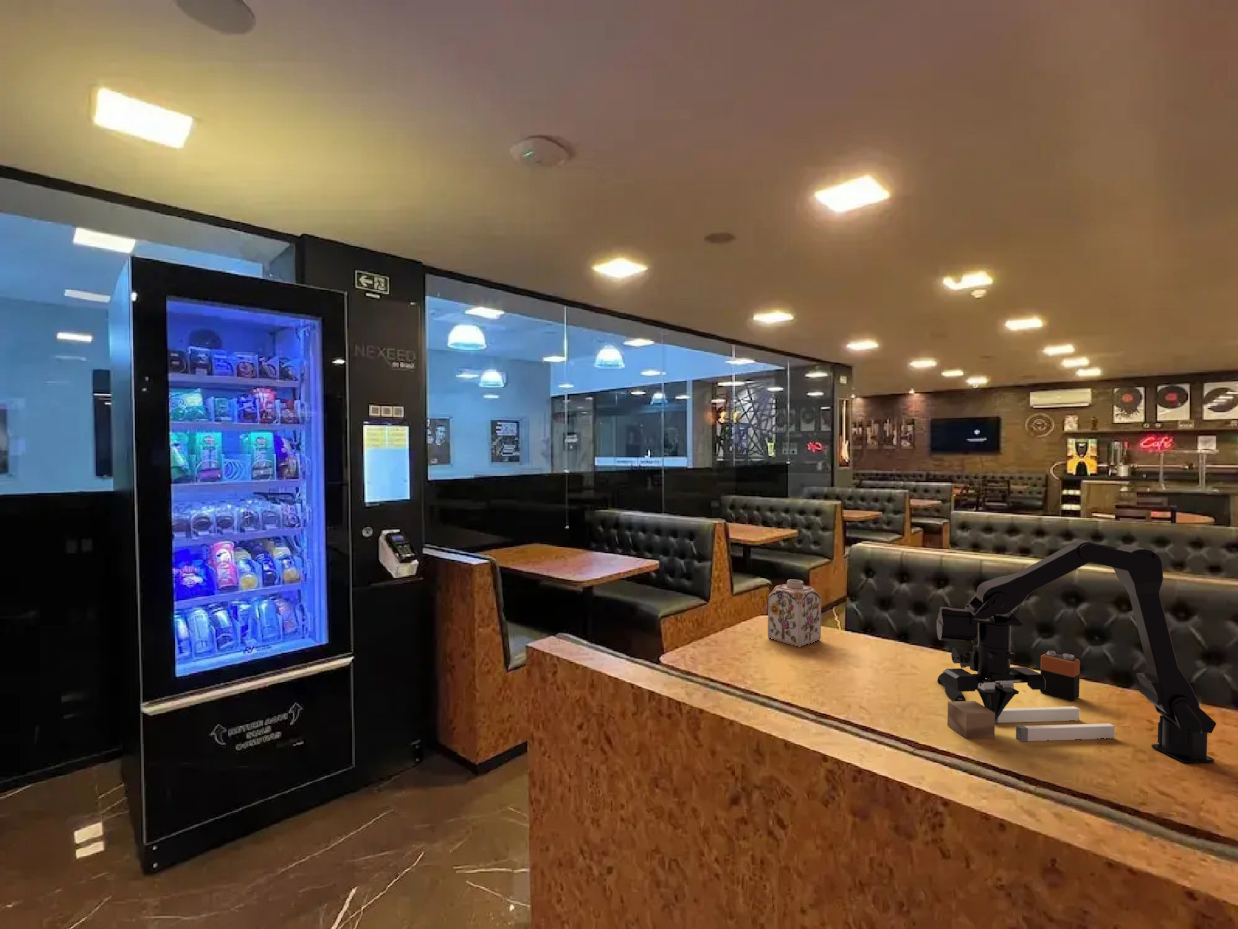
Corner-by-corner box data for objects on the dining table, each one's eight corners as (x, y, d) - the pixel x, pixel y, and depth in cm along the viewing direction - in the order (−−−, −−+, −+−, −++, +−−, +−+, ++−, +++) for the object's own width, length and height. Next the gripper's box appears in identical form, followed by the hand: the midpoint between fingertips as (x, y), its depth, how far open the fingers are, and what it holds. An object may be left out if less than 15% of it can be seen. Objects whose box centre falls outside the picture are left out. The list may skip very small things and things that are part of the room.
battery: (1073, 702, 142) (1074, 659, 141) (1039, 693, 147) (1040, 651, 147) (1079, 697, 144) (1080, 655, 144) (1046, 688, 150) (1047, 647, 149)
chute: (1114, 738, 123) (1115, 725, 123) (1021, 741, 121) (1021, 728, 121) (1074, 717, 133) (1074, 705, 133) (986, 720, 131) (987, 708, 131)
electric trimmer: (951, 707, 139) (951, 693, 139) (936, 682, 154) (936, 669, 154) (969, 709, 138) (970, 695, 138) (952, 684, 153) (953, 671, 153)
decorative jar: (789, 632, 195) (789, 575, 195) (821, 640, 187) (823, 581, 186) (766, 639, 188) (767, 580, 187) (799, 648, 179) (800, 586, 179)
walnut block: (994, 738, 123) (995, 713, 123) (965, 738, 122) (966, 713, 122) (974, 724, 129) (975, 701, 129) (947, 725, 128) (947, 701, 128)
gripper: (1008, 632, 135) (1006, 703, 135) (927, 633, 133) (925, 705, 133) (1048, 648, 124) (1046, 726, 124) (960, 650, 122) (958, 728, 122)
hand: (992, 720), depth 126 cm, fingers closed
